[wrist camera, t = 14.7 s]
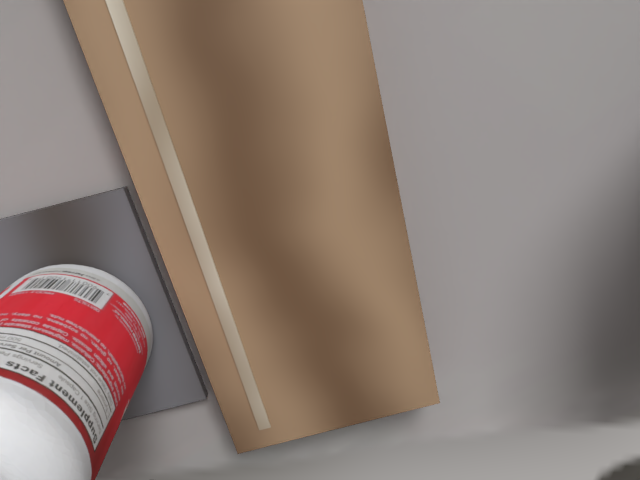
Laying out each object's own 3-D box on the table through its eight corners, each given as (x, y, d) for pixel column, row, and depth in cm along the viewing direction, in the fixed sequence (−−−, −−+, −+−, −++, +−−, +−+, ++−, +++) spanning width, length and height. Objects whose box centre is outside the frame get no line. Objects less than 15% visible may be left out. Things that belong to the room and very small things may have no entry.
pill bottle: (56, 409, 21) (-156, 729, 11) (-30, 294, 19) (-389, 554, 9) (183, 357, 21) (87, 638, 11) (109, 235, 19) (-99, 434, 9)
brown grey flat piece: (261, -456, 13) (257, -547, 11) (426, 375, 23) (440, 404, 21) (-363, -286, 14) (-473, -347, 12) (58, 468, 23) (36, 506, 21)
